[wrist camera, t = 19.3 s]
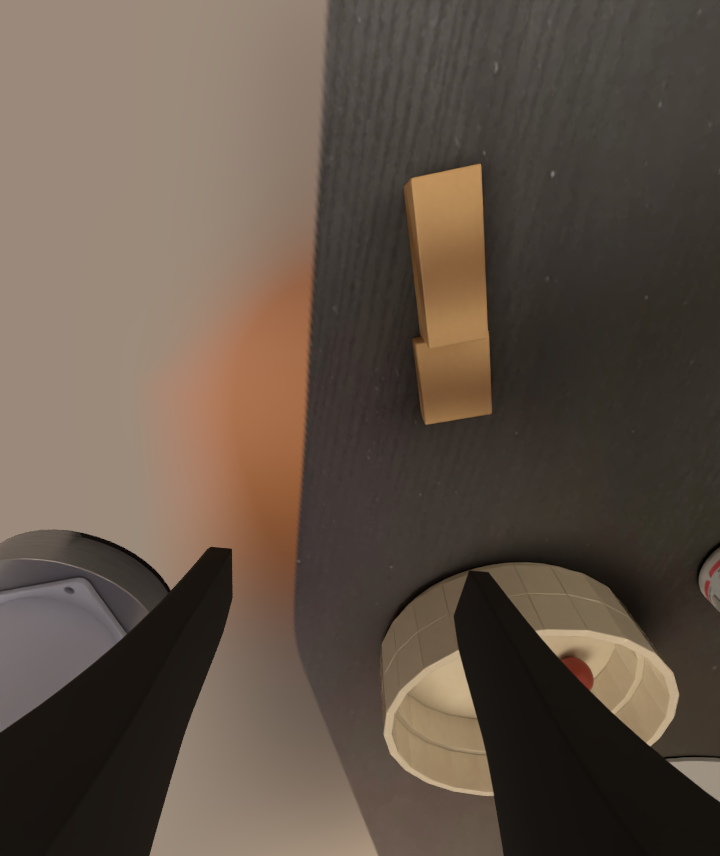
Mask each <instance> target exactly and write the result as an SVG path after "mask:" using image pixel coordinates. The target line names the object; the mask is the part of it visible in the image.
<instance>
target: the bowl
mask: <svg viewBox="0 0 720 856" xmlns="http://www.w3.org/2000/svg"><path fill="white" fill-rule="evenodd" d="M471 570H472V571H483V572H489V573H490V575H491V576H492V577H493V578H494V580H495V581H496V582H497V583H498V585H499V586H500V587H501V589H502V590H503V591H504V592H505V594H506V595H507V596H508V598H509V599H510V600H511V601H512V603H513V604H514V605H515V607H516V608H517V609H518V610H519V612H520V613H521V614H522V615H523V617H524V618H525V619H526V620H527V622H528V623H529V624H530V625H531V626H532V628H533V629H534V630H535V631H536V632H537V634H538V635H539V636H540V637H541V638H542V640H543V641H544V642H545V643H546V644H547V645H548V646H549V648H550V649H551V650H552V651H553V652H554V653H555V654H556V655H557V657H558V658H559V659H560V660H562V659H563V658H565V657H569V656H572V657H577V658H579V659H581V660H582V661H584V662H585V663H586V664H587V665H588V666H589V668H590V669H591V671H592V673H593V677H594V684H593V687H592V689H591V690H590V691H591V692H592V693H593V694H594V695H595V696H596V697H597V698H598V699H599V700H600V701H601V702H602V703H603V704H604V705H605V706H606V707H607V708H608V709H609V710H610V711H611V712H612V713H613V714H614V715H615V716H617V717H618V718H619V719H620V720H621V721H622V722H623V723H624V724H625V725H626V726H628V727H629V728H630V729H631V730H632V731H633V732H634V733H635V734H637V735H638V736H639V737H640V738H641V739H642V740H643V741H644V742H646V743H647V744H648V745H649V746H651V745H652V744H653V743H655V742H656V741H657V740H658V739H659V738H660V737H661V736H662V734H663V733H664V731H665V730H666V728H667V727H668V725H669V724H670V722H671V721H672V720H673V718H674V716H675V711H676V707H677V703H678V698H679V692H678V688H677V685H676V681H675V677H674V673H673V671H672V670H671V669H670V667H669V666H668V665H667V663H666V662H665V661H664V659H663V658H662V656H661V655H660V654H659V652H658V651H657V650H656V648H655V647H654V645H653V644H652V643H651V641H650V640H649V639H648V637H647V636H646V634H645V633H644V632H643V630H642V629H641V628H640V626H639V625H638V623H637V622H636V621H635V619H634V618H633V617H632V615H631V614H630V612H629V611H628V610H627V608H626V607H625V606H624V604H623V603H622V602H621V601H620V600H619V599H618V598H617V597H616V595H615V594H614V593H613V592H612V591H611V590H610V589H609V588H608V587H607V586H605V585H603V584H602V583H600V582H598V581H596V580H594V579H592V578H591V577H589V576H587V575H585V574H583V573H580V572H576V571H572V570H569V569H565V568H562V567H559V566H554V565H549V564H543V563H531V562H511V563H501V564H493V565H488V566H483V567H479V568H474V569H471ZM468 572H469V570H468V571H465V572H462V573H458V574H456V575H454V576H451V577H449V578H447V579H444V580H442V581H441V582H439V583H437V584H435V585H433V586H432V587H430V588H428V589H427V590H425V591H424V592H423V593H421V594H420V595H418V596H417V597H416V598H415V599H414V600H413V601H411V602H410V603H409V604H408V605H407V606H406V607H405V608H404V610H403V611H402V612H401V613H400V614H399V615H398V617H397V618H396V619H395V620H394V621H393V622H392V624H391V626H390V628H389V630H388V632H387V634H386V636H385V638H384V640H383V642H382V645H381V655H380V680H381V696H382V697H381V698H382V716H383V733H384V737H385V740H386V743H387V746H388V748H389V751H390V754H391V755H392V756H393V757H394V758H395V760H396V761H397V762H398V763H399V764H400V765H401V766H402V767H403V768H404V769H405V770H406V771H407V772H409V773H411V774H413V775H414V776H416V777H418V778H419V779H421V780H423V781H425V782H426V783H429V784H432V785H435V786H438V787H441V788H445V789H448V790H451V791H455V792H462V793H469V794H476V795H482V796H483V795H484V796H494V793H493V788H492V782H491V777H490V772H489V766H488V761H487V756H486V751H485V747H484V743H483V738H482V734H481V730H480V727H479V723H478V720H477V716H476V712H475V709H474V705H473V702H472V698H471V694H470V691H469V687H468V683H467V680H466V676H465V672H464V669H463V665H462V661H461V657H460V653H459V649H458V643H457V637H456V630H455V623H454V613H455V610H456V607H457V604H458V601H459V598H460V596H461V593H462V590H463V587H464V584H465V581H466V578H467V575H468Z"/></svg>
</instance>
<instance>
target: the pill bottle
mask: <svg viewBox="0 0 720 856" xmlns="http://www.w3.org/2000/svg"><path fill="white" fill-rule="evenodd" d="M698 580H699V587H700V590H701V592H702V593H703V595H704V596H705V597H706V598H707V599H708V600H709V601H710V602H711V604H712V605H713V606H714V607H715V608H716V609H717V610H718V611H719V612H720V547H719V548H718V549H717V550H715V551H714V552H713V553H712V554H711V555H710V556H709V557H708V558H707V560H706V561H705V563H704V564H703V566H702V568H701V570H700V573H699V579H698Z"/></svg>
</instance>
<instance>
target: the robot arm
mask: <svg viewBox="0 0 720 856" xmlns="http://www.w3.org/2000/svg"><path fill="white" fill-rule="evenodd" d="M231 602H232V549H228V548H216V547H210V548H209V549H207V550H206V551H205V553H204V554H203V555H202V556H201V558H200V559H199V560H198V561H197V562H196V563H195V565H194V566H193V567H192V568H191V569H190V570H189V571H188V573H187V574H186V575H185V576H184V577H183V578H182V580H180V581H179V583H178V584H177V585H176V586H175V587H174V588H173V589H172V590H171V591H170V592H169V593H168V594H167V595H166V596H165V597H164V598H163V599H162V600H161V601H160V602H159V603H158V605H157V606H156V607H155V608H154V609H153V610H152V611H150V612H149V613H148V614H147V615H146V616H145V617H144V618H143V619H142V620H141V621H140V622H139V623H138V624H137V625H136V626H135V627H134V628H133V629H132V630H131V631H130V632H129V633H126V632H125V630H124V629H123V628H122V626H121V625H120V624H119V622H118V621H117V619H116V618H115V617H114V615H113V614H112V613H111V611H110V610H109V608H108V607H107V606H106V604H105V603H104V602H103V600H102V599H101V597H100V596H99V595H98V593H97V592H96V591H95V589H94V588H93V586H92V585H91V584H90V582H89V581H88V580H86V579H85V578H81V577H80V578H72V579H66V580H61V581H55V582H50V583H44V584H39V585H33V586H28V587H22V588H17V589H12V590H6V591H1V592H0V856H149V855H150V851H151V847H152V844H153V840H154V836H155V832H156V829H157V825H158V822H159V819H160V815H161V811H162V808H163V804H164V801H165V798H166V794H167V791H168V787H169V784H170V780H171V777H172V774H173V770H174V767H175V764H176V760H177V757H178V754H179V750H180V747H181V744H182V740H183V737H184V734H185V731H186V728H187V725H188V722H189V720H190V717H191V714H192V712H193V709H194V707H195V704H196V701H197V699H198V696H199V693H200V691H201V689H202V686H203V683H204V681H205V678H206V676H207V673H208V671H209V668H210V665H211V663H212V660H213V658H214V655H215V652H216V650H217V647H218V645H219V642H220V639H221V636H222V634H223V631H224V627H225V624H226V620H227V617H228V613H229V609H230V605H231ZM454 623H455V630H456V637H457V643H458V649H459V653H460V657H461V661H462V665H463V669H464V672H465V676H466V680H467V683H468V687H469V691H470V694H471V698H472V702H473V705H474V709H475V712H476V716H477V720H478V723H479V727H480V730H481V734H482V738H483V743H484V747H485V751H486V756H487V761H488V766H489V772H490V777H491V782H492V788H493V793H494V799H495V805H496V810H497V816H498V822H499V828H500V834H501V840H502V847H503V853H504V856H720V802H719V801H718V800H716V799H715V798H714V797H712V796H711V795H710V794H708V793H707V792H706V791H704V790H703V789H702V788H701V787H699V786H698V785H697V784H695V783H694V782H693V781H692V780H691V779H689V778H688V777H687V776H686V775H684V774H683V773H682V772H681V771H679V770H678V769H677V768H676V767H674V766H673V765H672V764H671V763H669V762H668V761H667V760H666V759H665V758H663V757H662V756H661V755H660V754H659V753H657V752H656V751H655V750H654V749H653V748H651V747H650V746H649V745H648V744H647V743H646V742H644V741H643V740H642V739H641V738H640V737H639V736H638V735H637V734H635V733H634V732H633V731H632V730H631V729H630V728H629V727H628V726H626V725H625V724H624V723H623V722H622V721H621V720H620V719H619V718H618V717H617V716H615V715H614V714H613V713H612V712H611V711H610V710H609V709H608V708H607V707H606V706H605V705H604V704H603V703H602V702H601V701H600V700H599V699H598V698H597V697H596V696H595V695H594V694H593V693H592V692H591V691H590V690H589V689H588V688H587V687H586V686H585V685H584V684H583V683H582V682H581V681H580V680H579V679H578V678H577V677H576V676H575V675H574V674H573V673H572V672H571V671H570V670H569V669H568V668H567V667H566V665H565V664H564V663H563V662H562V661H561V660H560V659H559V658H558V657H557V655H556V654H555V653H554V652H553V651H552V650H551V649H550V648H549V646H548V645H547V644H546V643H545V642H544V641H543V640H542V638H541V637H540V636H539V635H538V634H537V632H536V631H535V630H534V629H533V628H532V626H531V625H530V624H529V623H528V622H527V620H526V619H525V618H524V617H523V615H522V614H521V613H520V612H519V610H518V609H517V608H516V607H515V605H514V604H513V603H512V601H511V600H510V599H509V598H508V596H507V595H506V594H505V592H504V591H503V590H502V589H501V587H500V586H499V585H498V583H497V582H496V581H495V580H494V578H493V577H492V576H491V575H490V573H489V572H483V571H472V570H469V572H468V575H467V578H466V581H465V584H464V587H463V590H462V593H461V596H460V598H459V601H458V604H457V607H456V610H455V613H454Z"/></svg>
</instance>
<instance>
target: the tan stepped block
mask: <svg viewBox="0 0 720 856" xmlns="http://www.w3.org/2000/svg"><path fill="white" fill-rule="evenodd" d="M403 189H404V198H405V206H406V215H407V224H408V232H409V241H410V250H411V258H412V267H413V276H414V284H415V293H416V302H417V310H418V319H419V328H420V335H421V336H420V337H415V338H413V339H412V343H413V351H414V359H415V367H416V375H417V383H418V391H419V399H420V407H421V415H422V417H423V420H424V423H425V424H426V425H428V424H434V423H440V422H446V421H452V420H458V419H464V418H470V417H476V416H482V415H488V414H492V398H491V372H490V346H489V331H488V322H487V297H486V271H485V246H484V220H483V195H482V170H481V164H475V165H471V166H466V167H461V168H456V169H452V170H447V171H442V172H438V173H433V174H428V175H423V176H419V177H414V178H412V179H410V180H409V181H408V182H407V183H406V185H405V186H404V187H403Z"/></svg>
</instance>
